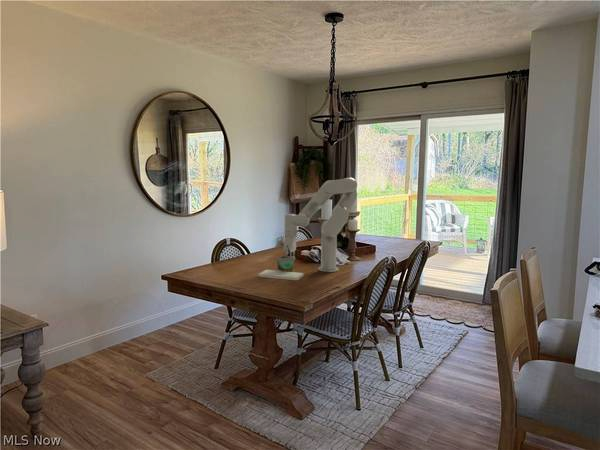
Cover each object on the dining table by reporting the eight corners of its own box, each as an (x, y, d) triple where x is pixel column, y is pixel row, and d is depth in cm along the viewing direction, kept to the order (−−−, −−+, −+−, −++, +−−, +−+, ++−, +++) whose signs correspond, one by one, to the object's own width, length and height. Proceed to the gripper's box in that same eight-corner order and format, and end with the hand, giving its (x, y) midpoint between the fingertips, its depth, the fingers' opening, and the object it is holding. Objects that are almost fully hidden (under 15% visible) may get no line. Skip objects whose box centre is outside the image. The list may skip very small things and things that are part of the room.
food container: (280, 275, 242) (282, 259, 240) (275, 271, 247) (276, 256, 244) (298, 272, 249) (299, 257, 246) (292, 269, 254) (294, 253, 251)
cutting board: (266, 272, 249) (266, 269, 249) (303, 275, 241) (303, 273, 241) (258, 276, 238) (258, 274, 238) (297, 280, 230) (297, 277, 230)
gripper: (290, 231, 262) (289, 259, 264) (279, 235, 246) (279, 264, 249) (301, 232, 259) (300, 260, 261) (291, 236, 244) (290, 266, 246)
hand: (290, 262), depth 255 cm, fingers open, 3 cm apart
